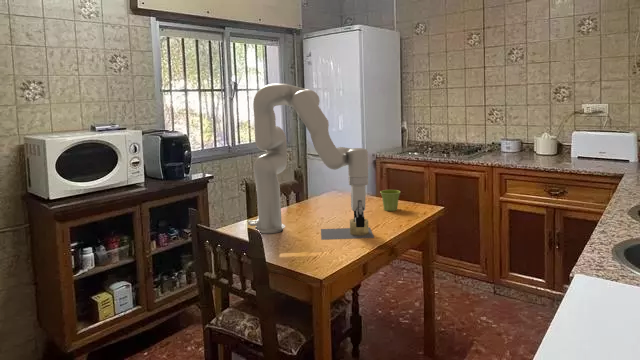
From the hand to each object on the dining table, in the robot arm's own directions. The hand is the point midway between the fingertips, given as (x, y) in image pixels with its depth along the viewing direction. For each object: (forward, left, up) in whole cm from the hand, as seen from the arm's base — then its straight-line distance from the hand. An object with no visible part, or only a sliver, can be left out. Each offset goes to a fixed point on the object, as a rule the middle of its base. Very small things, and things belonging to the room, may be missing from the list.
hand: (359, 223), depth 198 cm
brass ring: (0, 0, -4) cm, 4 cm away
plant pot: (+18, +39, -5) cm, 43 cm away
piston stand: (-5, 0, -5) cm, 7 cm away
